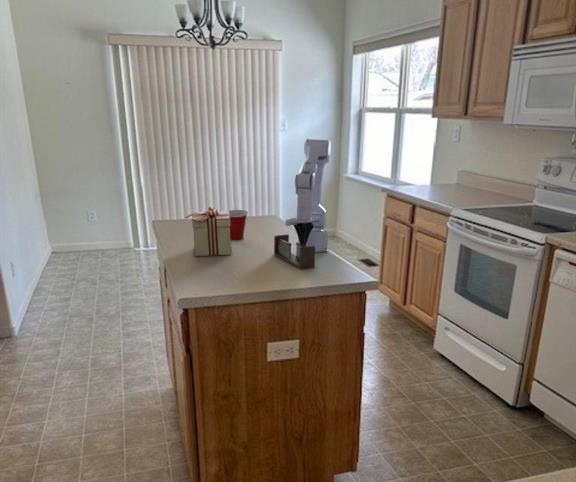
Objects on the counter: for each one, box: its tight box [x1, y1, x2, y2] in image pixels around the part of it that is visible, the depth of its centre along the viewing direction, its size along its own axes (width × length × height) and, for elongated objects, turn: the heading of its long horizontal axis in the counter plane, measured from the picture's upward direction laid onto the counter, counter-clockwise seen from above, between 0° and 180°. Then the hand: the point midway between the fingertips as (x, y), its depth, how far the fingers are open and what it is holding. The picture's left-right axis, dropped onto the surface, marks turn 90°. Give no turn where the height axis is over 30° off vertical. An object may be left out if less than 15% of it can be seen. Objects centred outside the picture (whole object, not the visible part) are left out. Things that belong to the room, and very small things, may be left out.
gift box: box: [184, 206, 232, 257], centre depth 214 cm, size 17×18×17 cm
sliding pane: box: [295, 238, 307, 259], centre depth 202 cm, size 1×9×9 cm, turn 28°
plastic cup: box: [227, 209, 249, 241], centre depth 237 cm, size 11×11×12 cm
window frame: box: [273, 233, 316, 270], centre depth 206 cm, size 6×22×8 cm, turn 28°
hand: (302, 243), depth 201 cm, fingers closed on sliding pane
